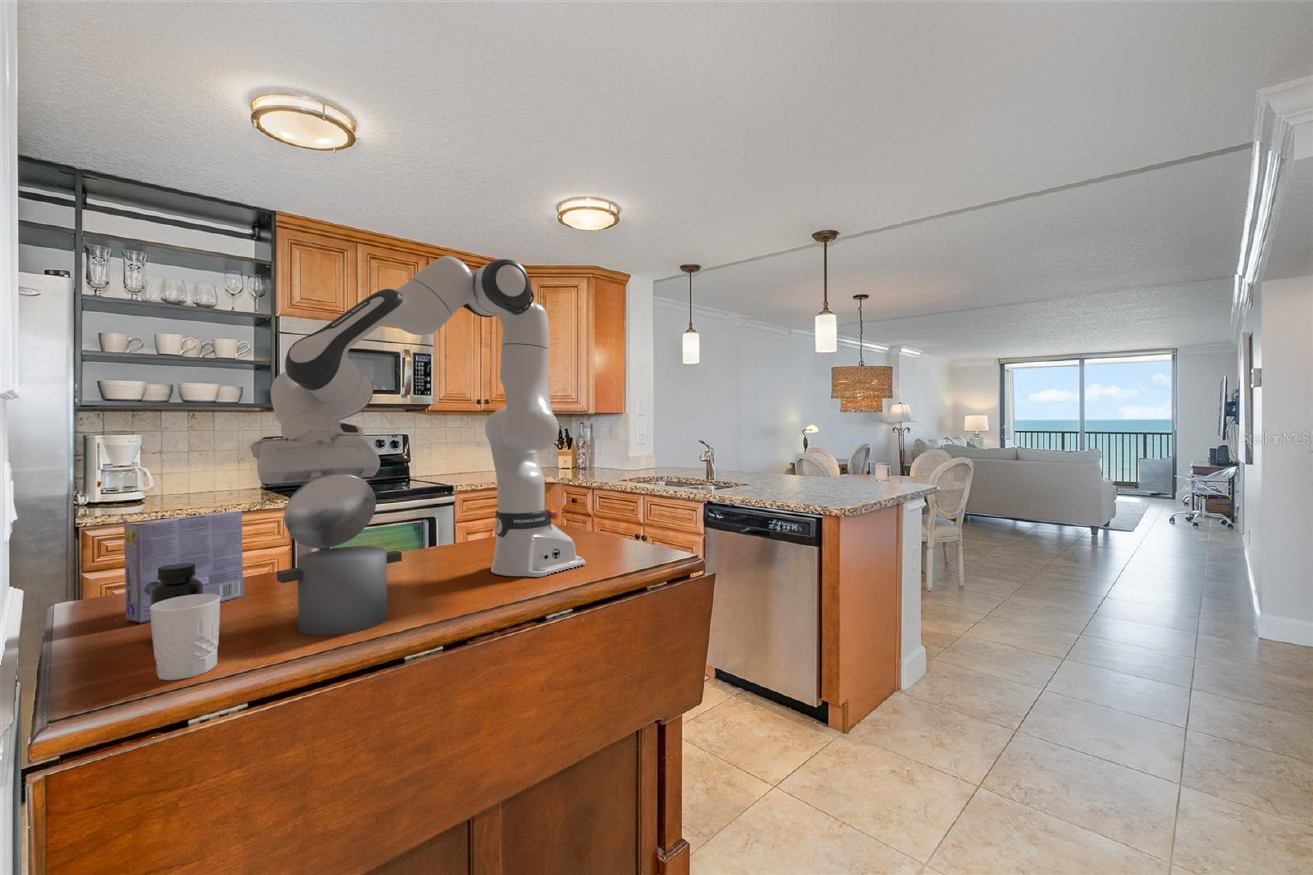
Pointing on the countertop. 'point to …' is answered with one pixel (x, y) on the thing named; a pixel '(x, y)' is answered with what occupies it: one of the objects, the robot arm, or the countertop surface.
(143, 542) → the cake pan box
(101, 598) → the countertop surface
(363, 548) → the gray cooking pot
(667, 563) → the countertop surface
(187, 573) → the supplement bottle
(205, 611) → the white cup
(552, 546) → the robot arm
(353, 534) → the lid
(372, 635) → the countertop surface
